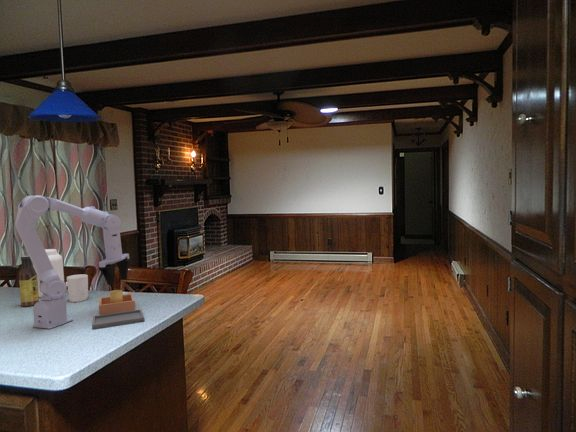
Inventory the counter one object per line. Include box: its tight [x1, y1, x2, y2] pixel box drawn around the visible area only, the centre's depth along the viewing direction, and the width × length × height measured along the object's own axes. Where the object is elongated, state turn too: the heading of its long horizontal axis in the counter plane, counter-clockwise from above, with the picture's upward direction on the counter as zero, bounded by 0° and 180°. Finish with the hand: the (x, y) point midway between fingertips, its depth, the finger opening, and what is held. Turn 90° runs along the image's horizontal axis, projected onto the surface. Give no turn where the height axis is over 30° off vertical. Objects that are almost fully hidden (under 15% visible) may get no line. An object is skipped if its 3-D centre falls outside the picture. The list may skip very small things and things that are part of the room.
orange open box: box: [98, 293, 136, 315], centre depth 156 cm, size 12×12×4 cm
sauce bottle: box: [18, 255, 40, 307], centre depth 167 cm, size 7×6×20 cm
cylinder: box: [109, 289, 124, 303], centre depth 155 cm, size 4×4×6 cm
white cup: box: [66, 273, 89, 303], centre depth 172 cm, size 8×8×10 cm
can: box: [33, 248, 65, 299], centre depth 184 cm, size 12×12×20 cm
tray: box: [91, 309, 145, 330], centre depth 142 cm, size 11×16×1 cm
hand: (117, 281), depth 156 cm, fingers open, 7 cm apart
